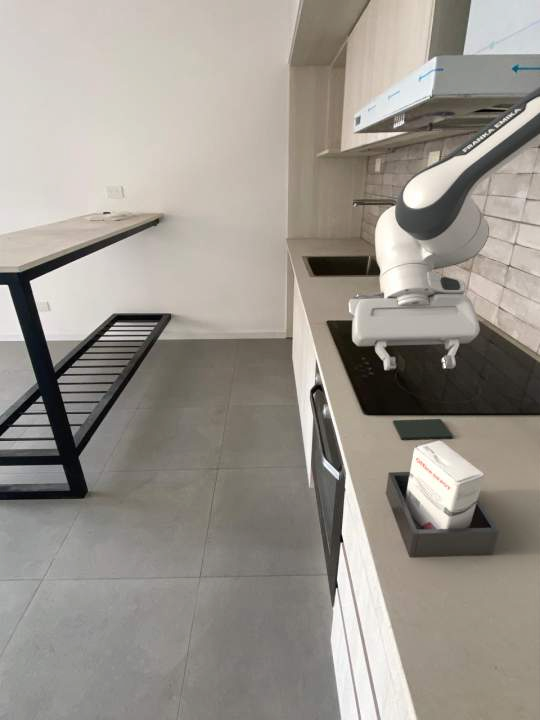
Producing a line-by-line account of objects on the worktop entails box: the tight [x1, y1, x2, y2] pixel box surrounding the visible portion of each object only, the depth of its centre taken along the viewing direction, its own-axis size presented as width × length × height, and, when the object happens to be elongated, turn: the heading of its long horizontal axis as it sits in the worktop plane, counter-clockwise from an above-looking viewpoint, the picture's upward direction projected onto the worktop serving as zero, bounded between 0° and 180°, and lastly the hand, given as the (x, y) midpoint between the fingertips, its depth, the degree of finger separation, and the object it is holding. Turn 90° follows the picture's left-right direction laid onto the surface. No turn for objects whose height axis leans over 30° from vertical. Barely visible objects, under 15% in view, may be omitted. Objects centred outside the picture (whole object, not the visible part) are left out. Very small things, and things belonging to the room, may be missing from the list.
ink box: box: [404, 439, 485, 529], centre depth 57 cm, size 9×5×12 cm, turn 22°
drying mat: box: [392, 418, 454, 441], centre depth 80 cm, size 10×6×1 cm, turn 90°
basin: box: [385, 471, 500, 558], centre depth 58 cm, size 11×12×4 cm
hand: (419, 368), depth 63 cm, fingers open, 8 cm apart
